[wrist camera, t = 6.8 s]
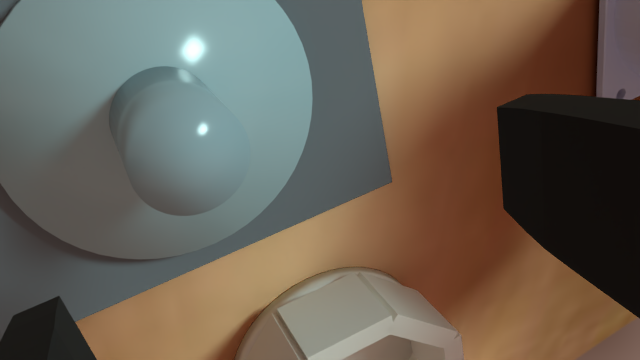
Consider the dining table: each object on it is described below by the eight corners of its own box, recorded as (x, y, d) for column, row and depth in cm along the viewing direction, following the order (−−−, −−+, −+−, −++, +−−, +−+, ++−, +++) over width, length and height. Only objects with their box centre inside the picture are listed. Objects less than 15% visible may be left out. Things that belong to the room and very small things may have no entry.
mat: (322, -190, 17) (328, -192, 16) (386, 177, 23) (392, 181, 22) (-261, -48, 13) (-269, -46, 13) (3, 345, 19) (3, 353, 19)
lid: (259, -100, 16) (317, -96, 13) (331, 179, 21) (386, 230, 18) (-97, 9, 14) (-129, 45, 11) (73, 296, 19) (84, 377, 16)
